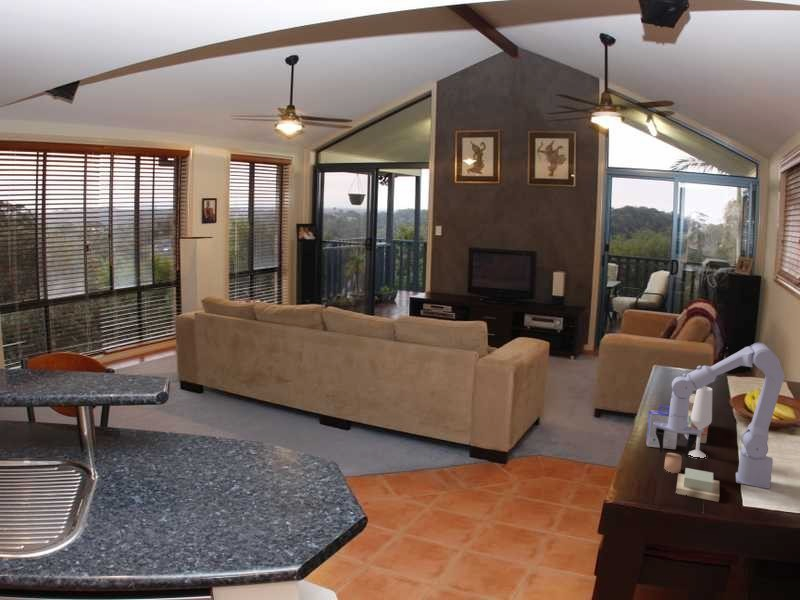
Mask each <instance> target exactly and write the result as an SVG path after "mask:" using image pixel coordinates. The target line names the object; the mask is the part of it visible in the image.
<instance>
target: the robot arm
mask: <svg viewBox="0 0 800 600" xmlns="http://www.w3.org/2000/svg"><path fill="white" fill-rule="evenodd" d="M753 365H754V366H755V367H757V369H759V370H761V372H762V373H763V374H764V376H765V377H764V380H763V383H762V386H761V389H760V392H759V396H758V400H757V403H756V405H755V406H756V407H755V410H754V413H753V416H752V419H751V422H750V423H749V424H748V426H747V429H746V430H745V431H744V432H743V433H742V435H741V443H742V444H743V447H742V448H741V450H740V453H739V463H738V468H737V469H738V470H737V471H736V472H735V482H736V483H737V484H743V485H747V486H751V487H752V486H753V487H758V488H763V489H770V488H771V482H772V472H773V461H774V460H773V457H772V456H771V457H770V456H767V454H768V453H769V445H768V441H769V428H770V425H771V421H772V420H773V415H774V412H775V409H776V405H777V402H778V399H779V395H780V393H781V390H782V386H783V383H784V380H785V373H784V371H783V368H782V365H781V363H780V359H779V358H778V356H777V355H776V354H775V353H774V352H773V350H772V349H771V348H770V347H769V346H768V345H767V344H765V343H762V342H755V343H753V344H751V345H749V346H744V348H742V349H740V350H739V351H737V352H735V353H733V354H731V355H730V356H727V357H726V358H724V359H722V360H720V361H718V362H716V363H715V364H713V365H711V366H709V365H702V366H701V365H697V367H696V369H695V370H692V371H690V372H688V373H683V374H682V376H680V375H679V376H677V377H675V378H674V379H673V380H672V382H671V383H670V385H671V389H672V391H671V398H670V402H669V403H670V404H669V408H670V410H669V419H668V423H657V422H654V423H653V430H656V435H657V438H658V441H659V445H660V448H659V452H660V453H661V454H662V453H663V451H664V448H663V439H664V431H669V432H675V433H677V434H681V435H684V434H686V435H689V436H688V440H687V444H686V449H685V453H684V454H685V456H684V457H685V458H688V457H689V456H688V454H689V451H691V449H692V447H693V445H694V444H695V443H696V442H695V441H696V439H697V437H699V438H700V437H701V430H698V429H694V428H691V427H687V420H688V412H689V404H690V401H689V399H690V396H691V395H692V394H694V393H693V392H694V391H697V390H698V389H700V388H702V387H704V386H706V387H707V386H708V385H710V384H712V383H714V382H715V381H716V378H717V376H720V375H722V374H724V373H727V372H730V371H731V370H734V369H736V368H738V367H748V368H753Z"/></svg>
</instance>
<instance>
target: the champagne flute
mask: <svg viewBox="0 0 800 600" xmlns="http://www.w3.org/2000/svg"><path fill="white" fill-rule="evenodd" d="M695 391H696V392H695V395H696V396H695V400H694V405H693V409H692V414H691V420H692V422H693V424H694V425H695V426H696V427H697V428H698V430H701V432H702V429H703V428H705V427H707V426H708V425H710V424H712V421H713V388H712V387H709V386H707V385H706V386H704V387H702V388H700V389H698V390H695ZM700 440H701V437H700V438H699V437H697V442H695V443H696V444H695V449H692V450H690V451H689V454H688V455H691V456H693V457H700V458H704V457H706V455H707V454H706V453H704V452H703V451H701V449H700V448H701V447H700V446H701V443H700ZM693 457H692V458H693Z"/></svg>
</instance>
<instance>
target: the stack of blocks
mask: <svg viewBox="0 0 800 600" xmlns="http://www.w3.org/2000/svg"><path fill="white" fill-rule="evenodd" d="M695 396H696V393H692V395H691V396H690V399H689V401H690V404H689V412H688V420H687V427H691V428H694V429H698V428H697V427H696V426H695V425H694V424H693V422H692V420H691V414H692V409H693V405H694V400H695ZM709 425H710V424H709ZM709 425H708V426H707V427H705V428H703V429H702V432H701V440H700V444H707V439H708V438H707V437H708V434H709V433H708V432H709V431H708V429H709V427H710V426H709ZM683 436H684V437H685V439H686V441H688V436H689V435H686V434H683ZM696 442H697V439H696V441H695V443H696Z"/></svg>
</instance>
